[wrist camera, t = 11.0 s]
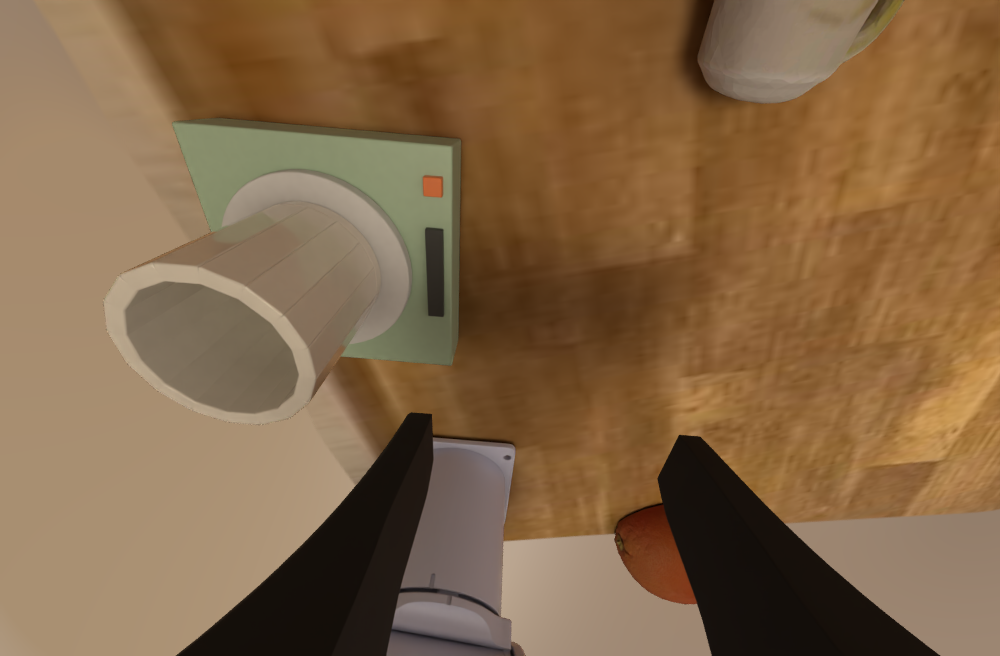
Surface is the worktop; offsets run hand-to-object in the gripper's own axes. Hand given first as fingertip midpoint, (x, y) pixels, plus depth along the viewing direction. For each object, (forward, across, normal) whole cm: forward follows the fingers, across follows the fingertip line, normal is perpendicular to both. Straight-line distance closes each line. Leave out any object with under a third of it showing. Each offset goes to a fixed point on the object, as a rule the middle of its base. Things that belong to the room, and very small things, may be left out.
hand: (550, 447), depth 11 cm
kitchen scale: (+9, +9, -2) cm, 13 cm away
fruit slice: (+6, -12, +17) cm, 22 cm away
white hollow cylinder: (+6, +10, -2) cm, 12 cm away
